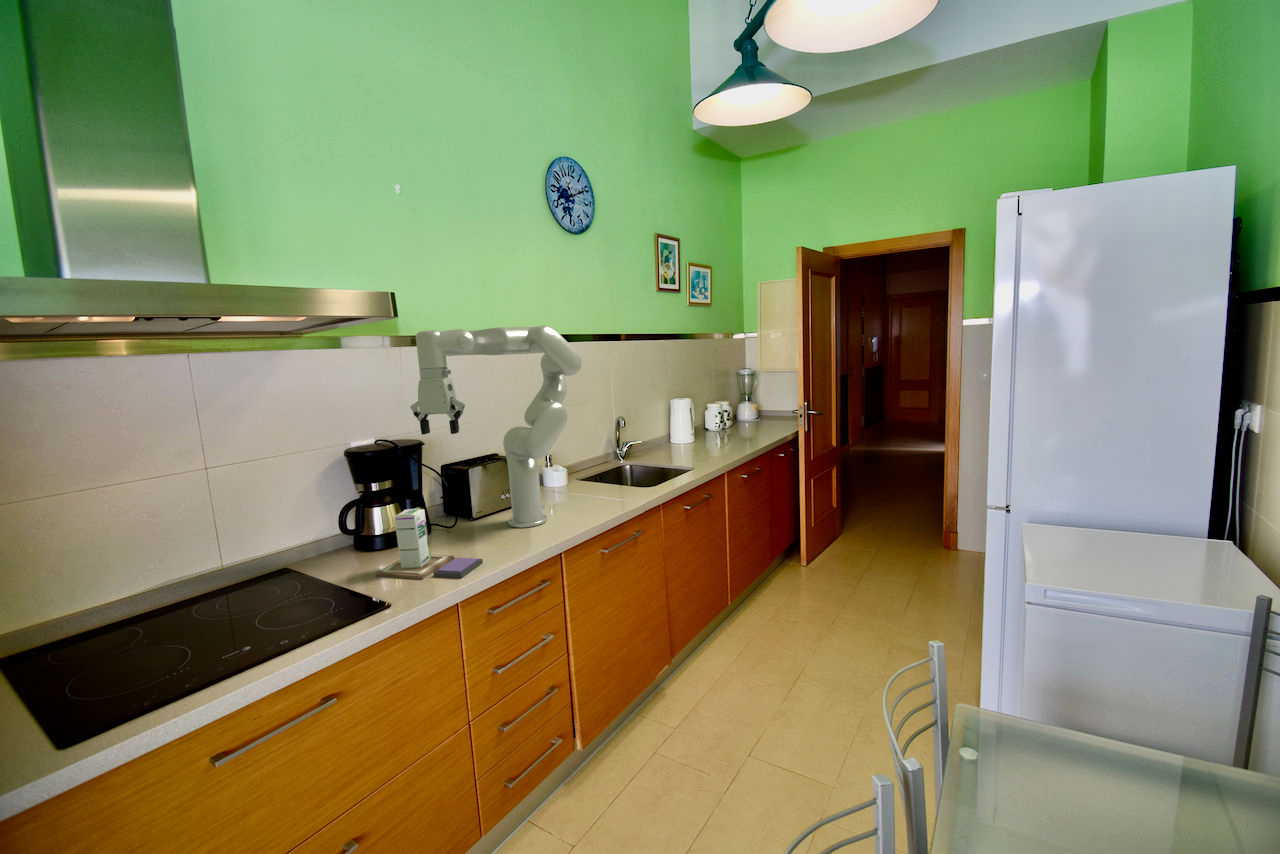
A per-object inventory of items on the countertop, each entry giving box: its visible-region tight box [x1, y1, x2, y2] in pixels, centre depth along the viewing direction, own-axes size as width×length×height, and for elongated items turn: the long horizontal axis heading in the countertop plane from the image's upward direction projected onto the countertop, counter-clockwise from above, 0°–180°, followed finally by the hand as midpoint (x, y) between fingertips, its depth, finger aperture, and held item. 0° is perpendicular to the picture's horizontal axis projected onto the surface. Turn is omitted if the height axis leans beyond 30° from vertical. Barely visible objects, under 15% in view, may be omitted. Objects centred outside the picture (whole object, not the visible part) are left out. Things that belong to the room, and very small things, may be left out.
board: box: [374, 554, 455, 580], centre depth 149 cm, size 14×14×1 cm
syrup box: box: [393, 508, 431, 568], centre depth 148 cm, size 6×6×14 cm
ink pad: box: [433, 557, 483, 579], centre depth 146 cm, size 8×10×2 cm
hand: (440, 433), depth 162 cm, fingers open, 9 cm apart
